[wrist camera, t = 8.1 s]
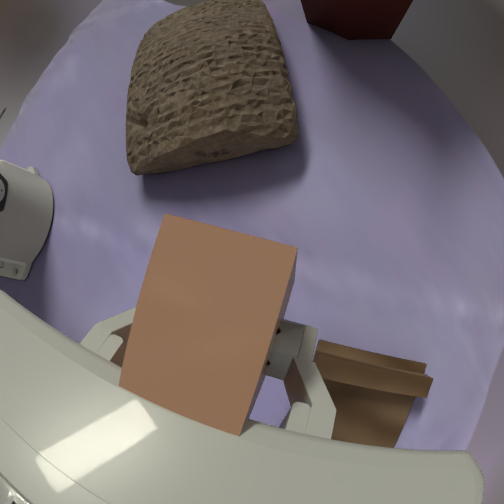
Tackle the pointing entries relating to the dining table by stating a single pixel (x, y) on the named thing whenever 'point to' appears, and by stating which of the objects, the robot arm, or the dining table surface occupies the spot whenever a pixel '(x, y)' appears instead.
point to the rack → (369, 392)
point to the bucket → (357, 17)
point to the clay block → (207, 321)
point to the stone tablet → (208, 88)
